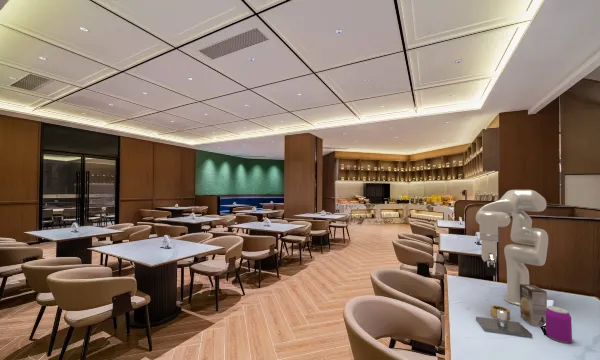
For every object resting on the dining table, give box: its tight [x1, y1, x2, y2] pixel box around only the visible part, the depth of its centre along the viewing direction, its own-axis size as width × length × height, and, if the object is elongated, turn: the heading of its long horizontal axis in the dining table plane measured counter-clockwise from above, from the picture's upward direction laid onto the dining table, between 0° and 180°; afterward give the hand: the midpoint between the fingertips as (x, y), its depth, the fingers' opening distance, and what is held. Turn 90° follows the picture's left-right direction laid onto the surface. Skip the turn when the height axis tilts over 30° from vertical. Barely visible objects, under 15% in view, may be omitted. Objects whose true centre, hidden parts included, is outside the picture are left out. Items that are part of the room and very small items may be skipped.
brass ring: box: [490, 304, 511, 321], centre depth 127 cm, size 7×7×4 cm
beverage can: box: [545, 305, 573, 344], centre depth 109 cm, size 8×8×12 cm
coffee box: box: [519, 284, 548, 328], centre depth 123 cm, size 9×6×16 cm
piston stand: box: [475, 309, 533, 339], centre depth 116 cm, size 17×11×8 cm, turn 74°
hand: (489, 272), depth 128 cm, fingers open, 9 cm apart
